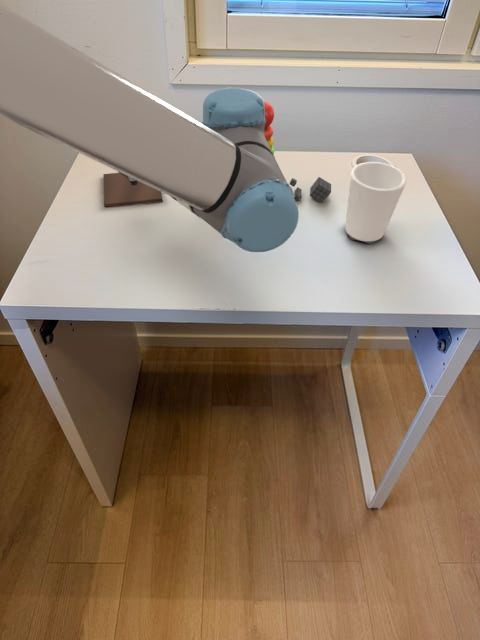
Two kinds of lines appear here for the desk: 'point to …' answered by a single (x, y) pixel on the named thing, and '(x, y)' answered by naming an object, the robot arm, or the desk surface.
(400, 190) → the cup
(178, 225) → the desk surface
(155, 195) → the coaster
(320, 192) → the building blocks
